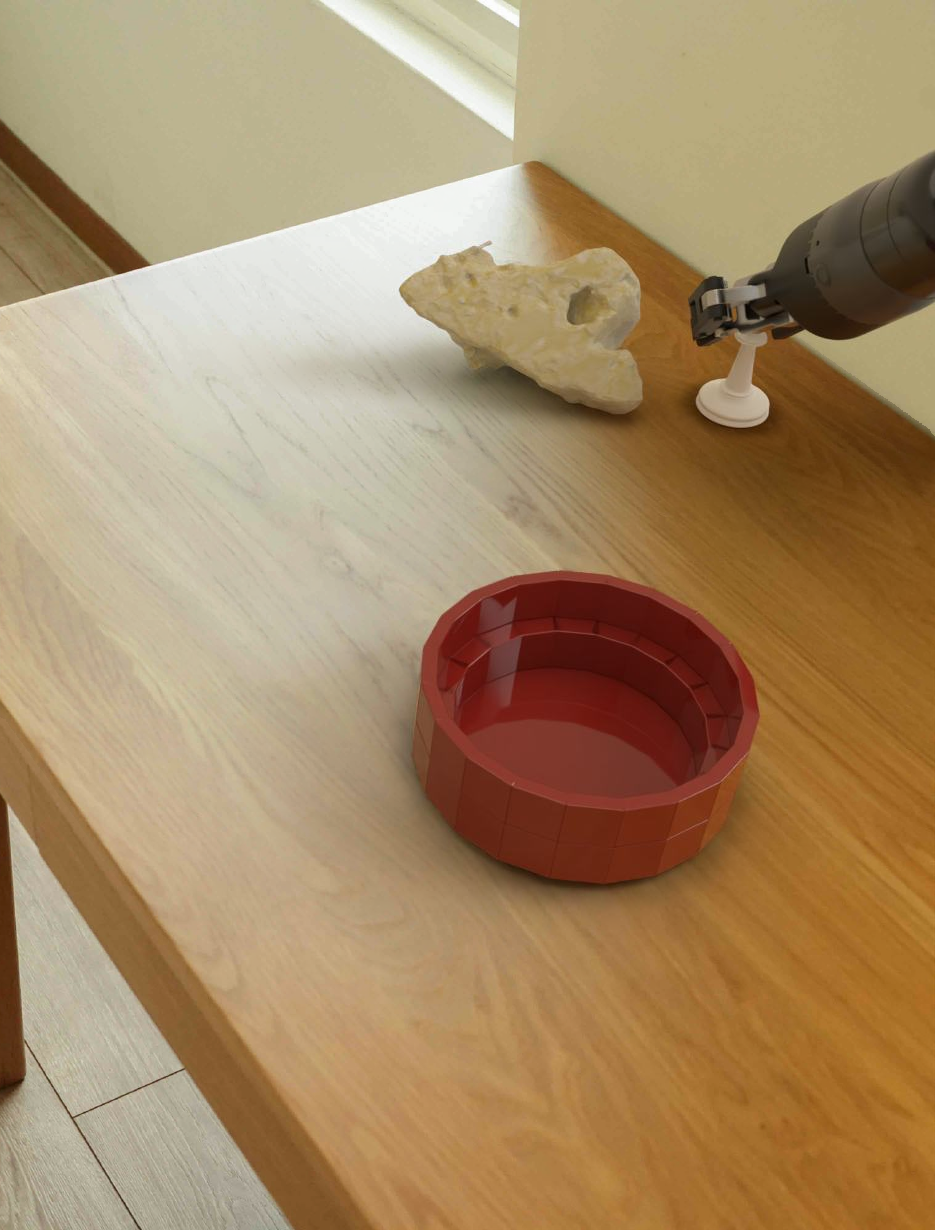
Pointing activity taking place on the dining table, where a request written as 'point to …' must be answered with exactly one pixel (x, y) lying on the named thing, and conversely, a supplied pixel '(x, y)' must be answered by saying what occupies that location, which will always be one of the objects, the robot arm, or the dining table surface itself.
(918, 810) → the dining table surface
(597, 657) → the bowl
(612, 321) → the beige rock
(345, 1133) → the dining table surface
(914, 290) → the robot arm
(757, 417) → the chess piece
